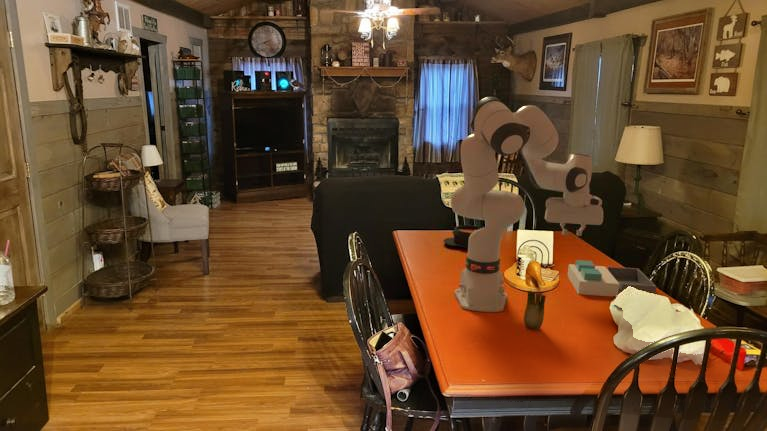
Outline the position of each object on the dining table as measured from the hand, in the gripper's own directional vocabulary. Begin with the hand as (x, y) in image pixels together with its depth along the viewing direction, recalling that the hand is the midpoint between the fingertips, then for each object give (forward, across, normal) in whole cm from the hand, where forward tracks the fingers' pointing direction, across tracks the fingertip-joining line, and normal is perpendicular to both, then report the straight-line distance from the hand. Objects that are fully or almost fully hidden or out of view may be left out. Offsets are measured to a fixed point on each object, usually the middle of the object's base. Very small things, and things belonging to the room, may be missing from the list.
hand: (571, 234), depth 201 cm
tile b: (+16, +8, +10) cm, 21 cm away
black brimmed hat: (+22, -35, +50) cm, 65 cm away
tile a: (+16, +9, 0) cm, 18 cm away
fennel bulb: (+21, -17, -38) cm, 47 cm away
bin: (+21, +24, +5) cm, 32 cm away
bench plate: (+21, +11, +5) cm, 24 cm away
